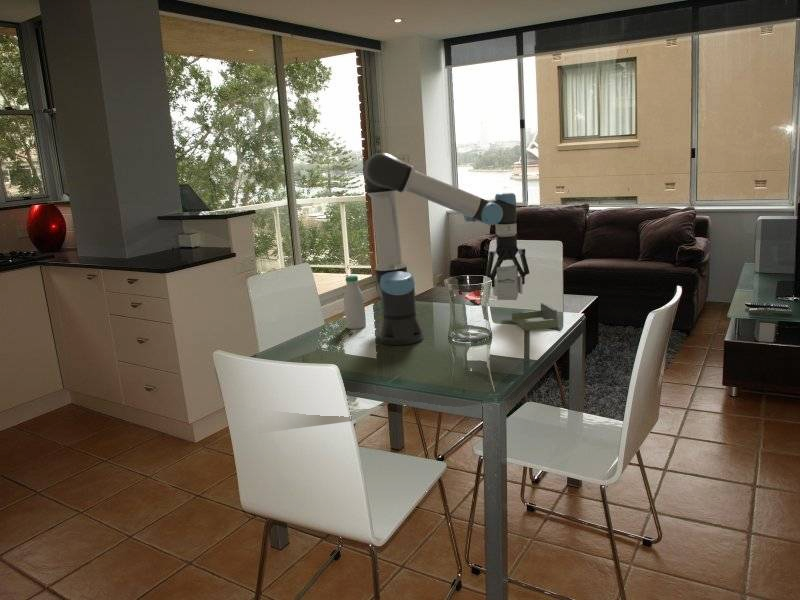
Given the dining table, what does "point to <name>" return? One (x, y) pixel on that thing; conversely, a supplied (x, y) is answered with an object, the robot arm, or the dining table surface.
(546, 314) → the chute mount
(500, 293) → the supplement box
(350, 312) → the milk bottle
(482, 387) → the dining table surface
